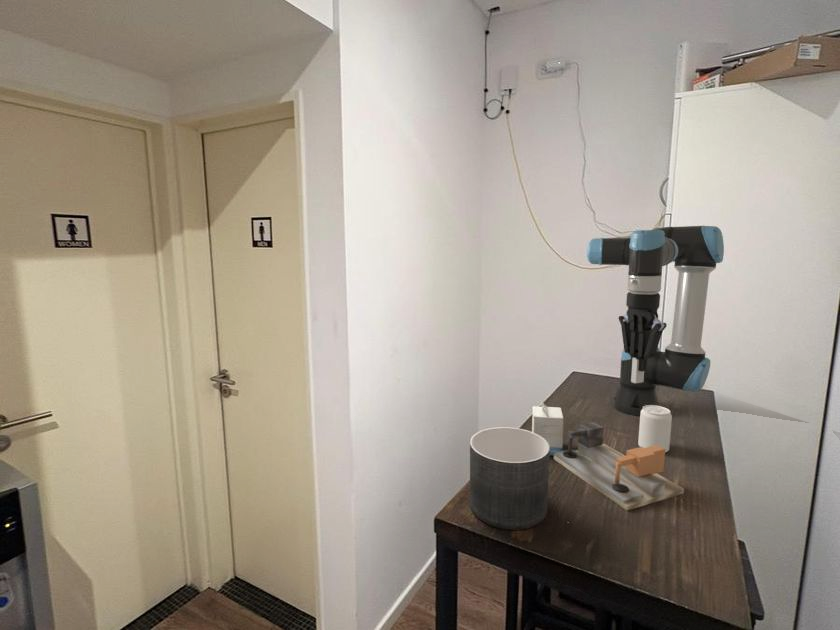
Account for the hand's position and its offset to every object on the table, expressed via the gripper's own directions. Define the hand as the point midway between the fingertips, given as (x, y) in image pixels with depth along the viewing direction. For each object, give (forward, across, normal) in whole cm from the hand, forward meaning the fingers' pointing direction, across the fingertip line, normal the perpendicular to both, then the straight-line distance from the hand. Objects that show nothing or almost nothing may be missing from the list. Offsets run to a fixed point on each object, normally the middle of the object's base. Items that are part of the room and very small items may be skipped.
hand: (637, 381), depth 116 cm
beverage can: (+25, -6, +15) cm, 29 cm away
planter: (+24, +2, -40) cm, 47 cm away
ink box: (+25, -18, -14) cm, 33 cm away
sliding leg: (+21, +8, -6) cm, 24 cm away
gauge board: (+24, +1, -7) cm, 25 cm away
